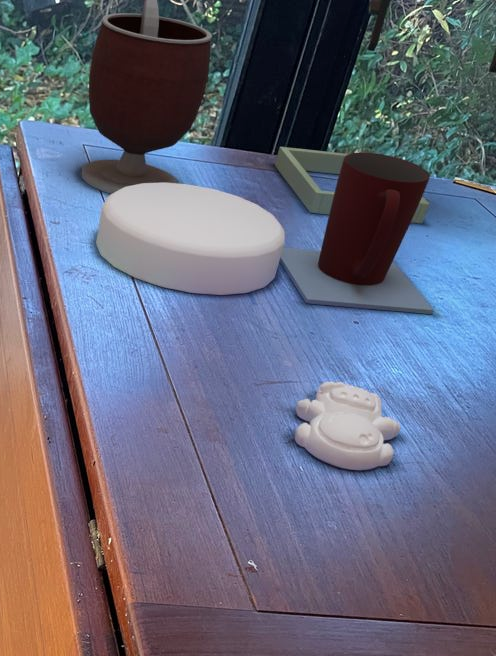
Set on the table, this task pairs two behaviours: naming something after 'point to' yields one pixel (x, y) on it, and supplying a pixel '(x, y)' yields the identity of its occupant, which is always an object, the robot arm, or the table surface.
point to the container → (190, 238)
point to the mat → (350, 286)
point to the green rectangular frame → (316, 201)
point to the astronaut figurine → (346, 427)
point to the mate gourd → (144, 91)
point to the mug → (370, 216)
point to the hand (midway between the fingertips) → (432, 58)
